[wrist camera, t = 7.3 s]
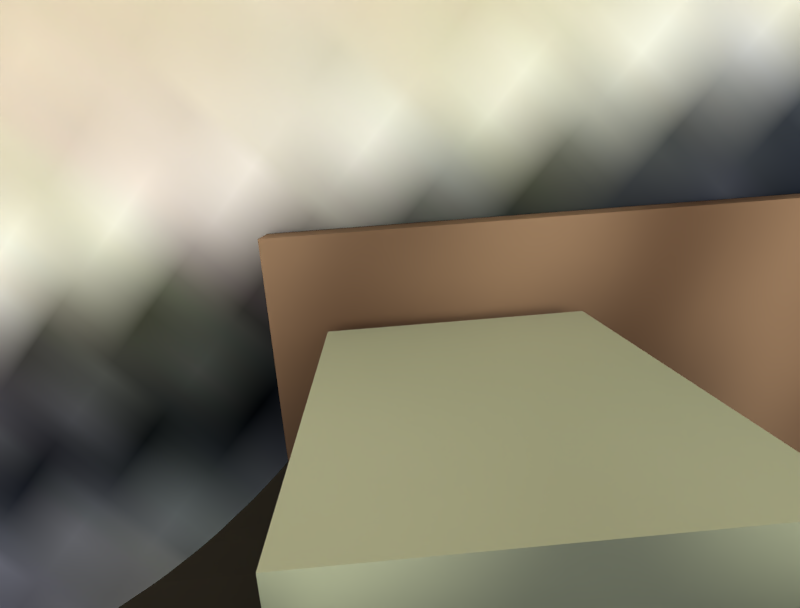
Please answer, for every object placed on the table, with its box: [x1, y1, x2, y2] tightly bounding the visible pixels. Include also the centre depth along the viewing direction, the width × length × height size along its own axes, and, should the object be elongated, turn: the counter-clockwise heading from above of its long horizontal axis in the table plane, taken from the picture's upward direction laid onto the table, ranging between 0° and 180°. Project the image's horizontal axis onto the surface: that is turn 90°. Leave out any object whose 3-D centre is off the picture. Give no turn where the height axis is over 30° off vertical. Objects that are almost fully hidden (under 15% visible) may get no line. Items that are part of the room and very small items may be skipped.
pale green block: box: [256, 311, 800, 608], centre depth 8 cm, size 5×5×7 cm
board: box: [258, 194, 800, 461], centre depth 13 cm, size 17×9×1 cm, turn 94°
